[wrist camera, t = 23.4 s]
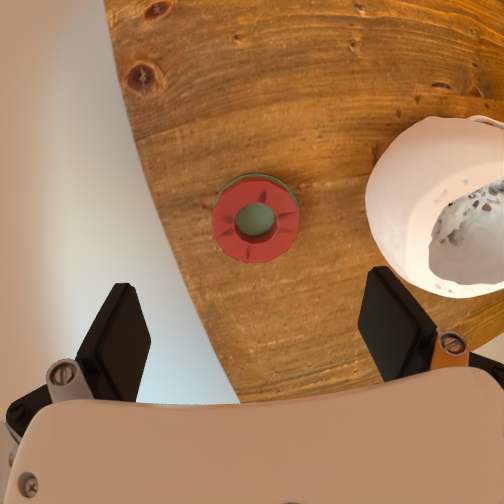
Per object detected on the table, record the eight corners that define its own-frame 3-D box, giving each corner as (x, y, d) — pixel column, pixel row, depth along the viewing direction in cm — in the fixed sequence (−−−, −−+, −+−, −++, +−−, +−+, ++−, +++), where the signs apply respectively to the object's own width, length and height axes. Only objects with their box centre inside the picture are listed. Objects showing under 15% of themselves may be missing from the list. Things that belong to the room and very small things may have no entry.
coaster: (216, 256, 28) (216, 259, 27) (209, 176, 25) (208, 177, 24) (297, 251, 28) (298, 254, 28) (298, 171, 25) (300, 172, 24)
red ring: (217, 255, 27) (216, 265, 26) (210, 179, 24) (208, 184, 22) (294, 251, 28) (297, 260, 26) (295, 175, 24) (299, 179, 23)
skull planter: (511, 201, 24) (574, 297, 10) (382, 218, 35) (375, 326, 21) (500, 97, 19) (595, 131, 5) (355, 117, 29) (336, 156, 15)
